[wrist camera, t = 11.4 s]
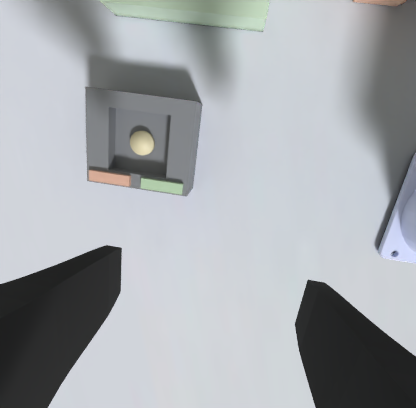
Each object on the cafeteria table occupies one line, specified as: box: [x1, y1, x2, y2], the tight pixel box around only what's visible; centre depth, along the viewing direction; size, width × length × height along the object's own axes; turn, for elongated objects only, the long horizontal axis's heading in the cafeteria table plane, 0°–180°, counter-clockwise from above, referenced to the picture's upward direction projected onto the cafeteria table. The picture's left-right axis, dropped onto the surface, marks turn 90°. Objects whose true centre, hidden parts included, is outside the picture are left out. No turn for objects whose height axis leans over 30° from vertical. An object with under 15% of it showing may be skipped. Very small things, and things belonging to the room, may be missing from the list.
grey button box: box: [86, 87, 202, 196], centre depth 17 cm, size 7×6×3 cm
